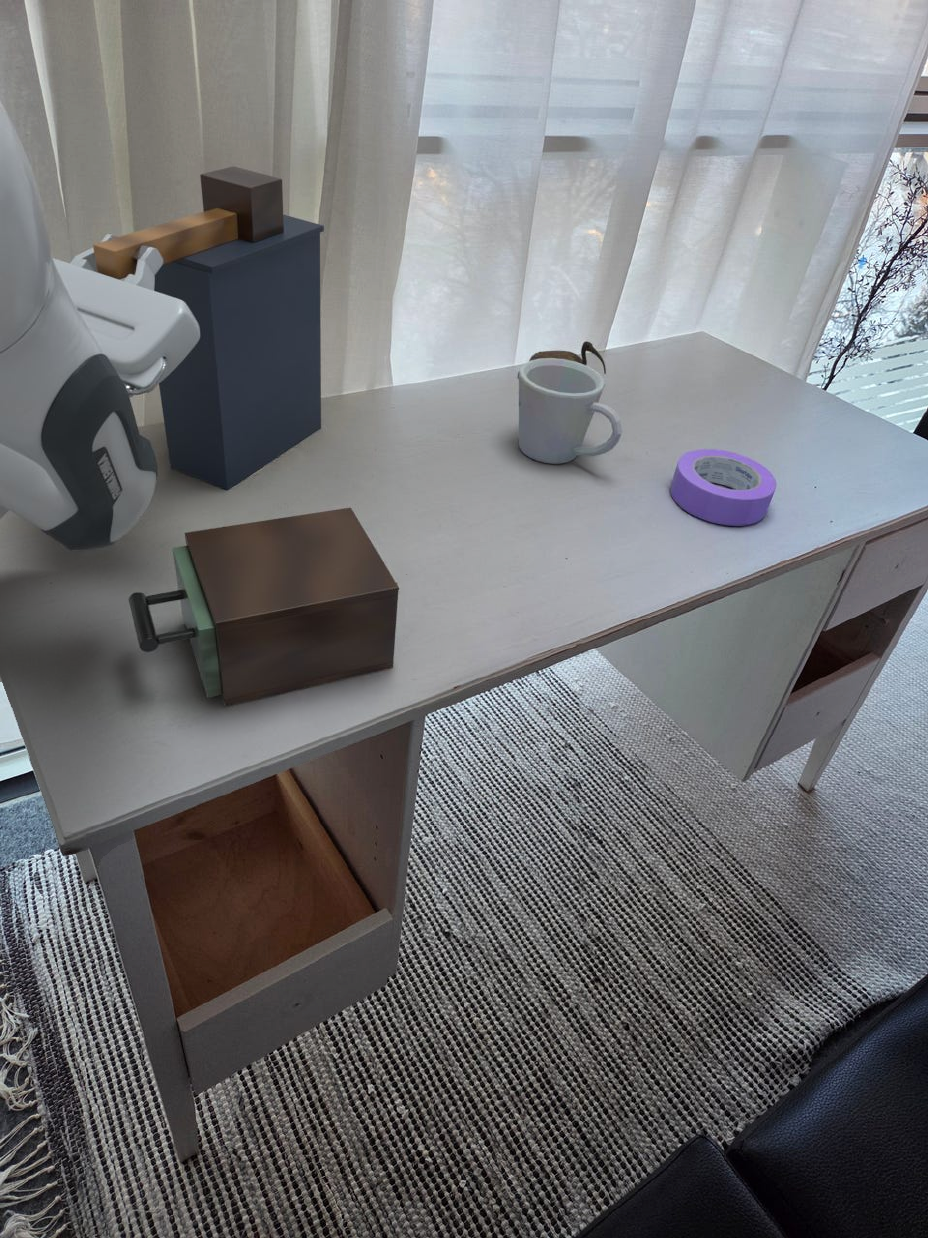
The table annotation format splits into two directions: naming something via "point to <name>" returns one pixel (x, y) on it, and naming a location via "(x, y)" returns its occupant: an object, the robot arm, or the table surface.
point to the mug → (560, 410)
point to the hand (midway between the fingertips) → (136, 246)
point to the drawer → (194, 618)
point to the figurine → (570, 355)
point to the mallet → (205, 222)
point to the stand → (245, 354)
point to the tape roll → (718, 502)
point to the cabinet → (295, 602)
